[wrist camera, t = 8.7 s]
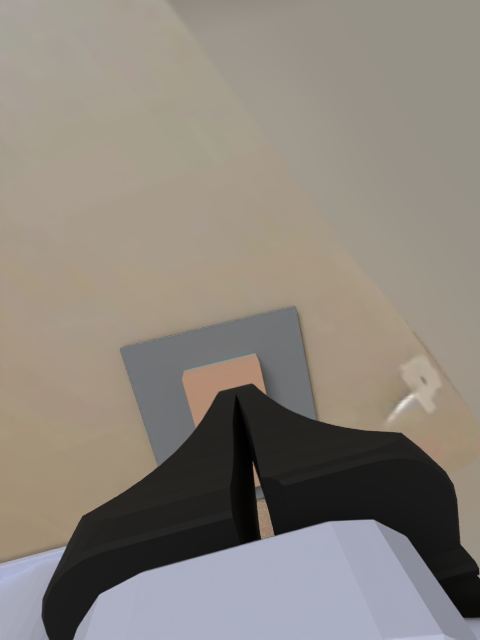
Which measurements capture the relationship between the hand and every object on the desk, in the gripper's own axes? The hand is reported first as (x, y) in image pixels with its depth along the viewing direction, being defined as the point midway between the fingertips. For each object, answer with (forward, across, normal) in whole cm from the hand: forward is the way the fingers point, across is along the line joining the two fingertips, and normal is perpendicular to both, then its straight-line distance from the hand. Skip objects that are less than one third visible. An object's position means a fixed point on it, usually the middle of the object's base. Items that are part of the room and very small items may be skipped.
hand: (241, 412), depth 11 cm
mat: (+10, +1, +6) cm, 12 cm away
